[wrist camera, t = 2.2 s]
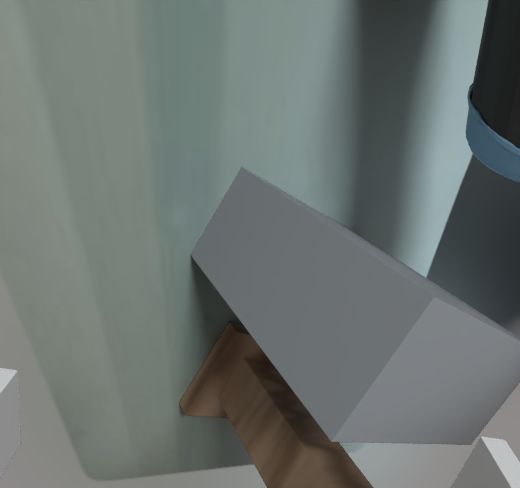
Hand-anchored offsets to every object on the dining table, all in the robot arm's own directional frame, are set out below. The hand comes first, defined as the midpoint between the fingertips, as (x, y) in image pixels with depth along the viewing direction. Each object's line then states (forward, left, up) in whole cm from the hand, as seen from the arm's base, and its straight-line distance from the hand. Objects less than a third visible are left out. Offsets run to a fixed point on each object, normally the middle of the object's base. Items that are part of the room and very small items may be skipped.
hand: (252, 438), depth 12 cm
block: (-17, +14, -27) cm, 35 cm away
